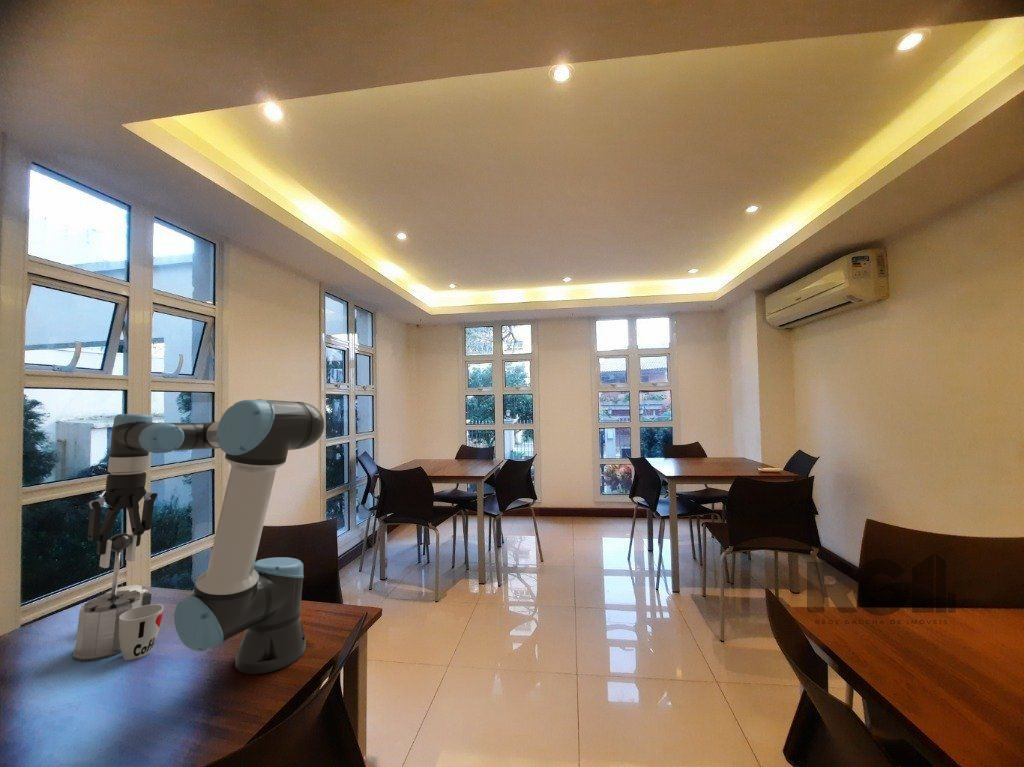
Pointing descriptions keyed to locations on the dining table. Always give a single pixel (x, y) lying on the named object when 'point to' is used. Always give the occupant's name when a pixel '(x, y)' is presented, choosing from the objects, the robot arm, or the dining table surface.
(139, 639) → the cup
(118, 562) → the plunger
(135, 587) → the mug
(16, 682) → the dining table surface
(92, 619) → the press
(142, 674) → the dining table surface
